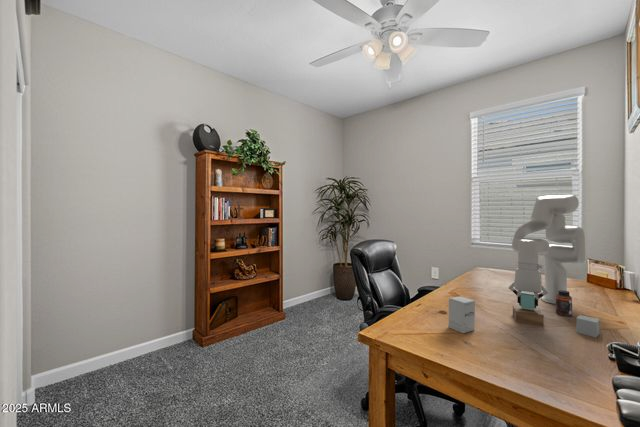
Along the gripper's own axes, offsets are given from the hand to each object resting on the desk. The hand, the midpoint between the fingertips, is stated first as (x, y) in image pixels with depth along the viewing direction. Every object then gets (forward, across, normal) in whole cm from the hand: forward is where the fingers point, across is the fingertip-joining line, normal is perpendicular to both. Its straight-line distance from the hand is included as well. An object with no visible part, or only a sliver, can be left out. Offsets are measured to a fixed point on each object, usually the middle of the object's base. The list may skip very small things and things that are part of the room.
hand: (527, 305), depth 129 cm
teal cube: (+1, 0, 0) cm, 1 cm away
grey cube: (+7, -20, +2) cm, 21 cm away
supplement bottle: (+7, -14, -20) cm, 25 cm away
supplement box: (+7, +22, +30) cm, 38 cm away
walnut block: (+7, 0, 0) cm, 7 cm away
